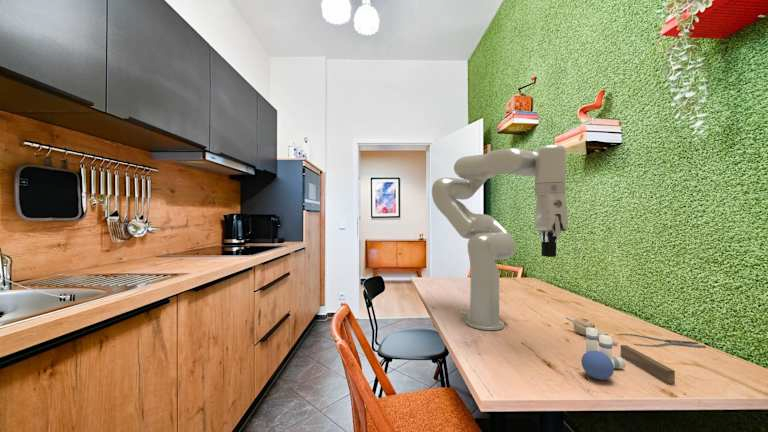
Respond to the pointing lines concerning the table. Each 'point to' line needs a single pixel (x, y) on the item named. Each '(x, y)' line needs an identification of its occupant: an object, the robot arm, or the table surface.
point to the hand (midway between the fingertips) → (548, 256)
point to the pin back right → (605, 345)
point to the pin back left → (591, 339)
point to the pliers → (671, 342)
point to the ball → (597, 365)
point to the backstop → (648, 364)
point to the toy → (581, 327)
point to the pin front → (618, 363)
